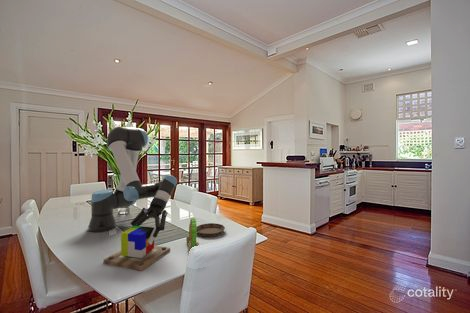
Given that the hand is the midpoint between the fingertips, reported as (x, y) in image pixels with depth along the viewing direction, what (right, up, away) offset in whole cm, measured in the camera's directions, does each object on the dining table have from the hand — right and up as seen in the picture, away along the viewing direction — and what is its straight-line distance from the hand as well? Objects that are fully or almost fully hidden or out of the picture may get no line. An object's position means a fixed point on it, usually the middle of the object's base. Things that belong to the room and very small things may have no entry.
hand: (138, 241), depth 106 cm
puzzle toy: (0, -4, -1) cm, 5 cm away
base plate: (0, -7, 0) cm, 7 cm away
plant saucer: (+29, -7, +33) cm, 44 cm away
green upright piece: (+23, -7, +12) cm, 26 cm away
